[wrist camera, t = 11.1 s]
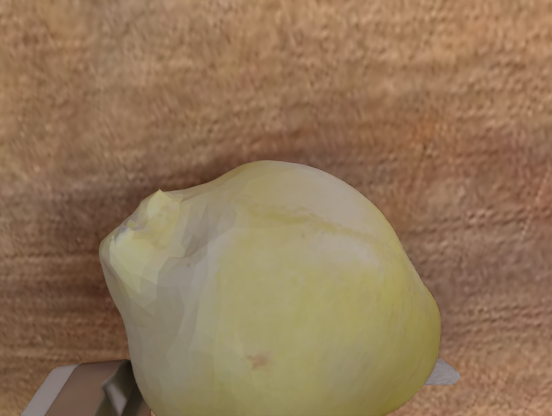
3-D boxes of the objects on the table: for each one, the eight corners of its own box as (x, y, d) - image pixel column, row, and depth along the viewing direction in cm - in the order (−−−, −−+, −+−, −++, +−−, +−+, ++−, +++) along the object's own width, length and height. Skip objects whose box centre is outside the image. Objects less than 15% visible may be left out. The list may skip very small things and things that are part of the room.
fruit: (379, 407, 14) (72, 310, 11) (468, 247, 13) (169, 96, 10) (512, 601, 9) (-27, 515, 5) (674, 344, 8) (168, 85, 5)
